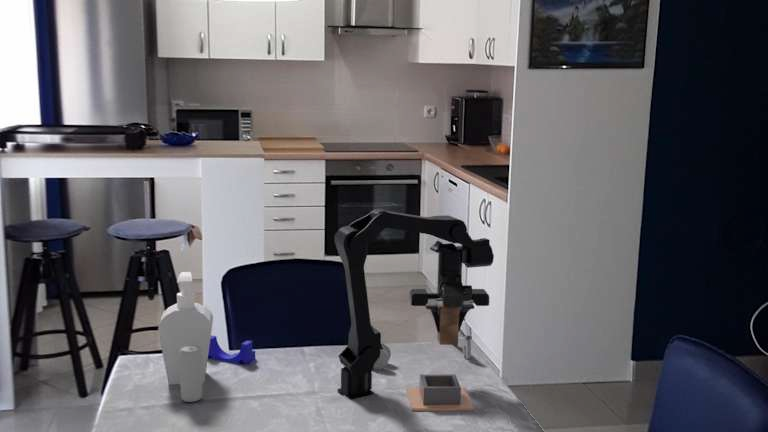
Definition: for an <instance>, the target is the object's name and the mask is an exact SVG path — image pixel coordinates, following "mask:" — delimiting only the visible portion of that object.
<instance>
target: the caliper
mask: <svg viewBox="0 0 768 432" xmlns="http://www.w3.org/2000/svg"><path fill="white" fill-rule="evenodd" d="M470 337H471V336H470V335H468V334H466V335H464V336H458V345H457V347H458V348H462V353H463V359H466V360H470V359H471V354H472V353H471V351H472V344H471V341H472V340H470V339H471V338H470Z"/></svg>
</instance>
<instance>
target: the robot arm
mask: <svg viewBox="0 0 768 432" xmlns="http://www.w3.org/2000/svg"><path fill="white" fill-rule="evenodd" d="M467 228H468V227H467V224H466V223H465V221H464V220H462V219H459V218H456V217H454V216H452V215H451V216H450V215H432V216H420V215H414V214H408V213H401V212H396V211H389V210H385V209H384V210H383V209H382V208H375V209H373V210H371V211H370V212H369V213H367V214H366V215H365V216H362V217H360V218H358V219H356V220H355V221H353V222H351V223H350V224H349V225H344V226H342V227H340V228H339V229H338V230H337V231H336V233H335V234H334V244H335V247H336V250H337V254H338V256H339V258H340V260H341V262H342V264H343V267H344V273H345V281H346V290H347V297H348V305H349V306H348V307H349V315H350V322H351V323H350V325H351V326H350V328H349V332H348V341H347V346H346V347H345V348H344V349H343V350H342V351H341V352H340V353H339V355H338V359H339V362H340V364H342V366H343V367H341V368H340V388H337V391H336V392H338V393H339V394H341V395H342V396H344V397H346V398H347V399H349V400H351V401H352V400H357V399H361V398H364V397H368V396H369V397H370V396H373V395H374V394H375V391H373V390H372V389H373V388H372V385H373V384H372V383H373V373H372V372H373V369H374V368H373V367H374V364H375V362H376V361H377V360H378V358H379V357H380V352H381V351H380V349H383V348H382V346H381V342H382V335H381V332H380V331H379V330H378V329H377V328H375V327H374V326H373V325H372V324H371V323H372V321H371V317H370V308H369V299H368V298H369V297H368V291H367V283H366V282H367V281H366V275H365V264H366V260H367V256H368V246H369V245H371V244H372V242H374V241H375V240H376V239H377V238H378V236H379V235H380V234H381V233H382V231H384V230H385V229H391V230H395V231H396V230H397V231H403V232H404V231H405V232H412V233H418V234H425V235H430V236H432V237H435V238H438V239H441V240H443V241H445V242H448V243H443V242H442V241H439V240H437V241H436V242H435V243H434V244H433V245H431V246H430V248H429V250H430V251H432V252H434V253H437V255H438V256H437V257H438V258H437V261H438V263H437V287H436V288H437V290H436V291H437V292H428V291H427V288H411V289H410V291H409V296H408V297H409V302H410V305H411V306H413V307H425V309H426V310H430V312H431V314H432V315H431V316H432V317H433V322H434V326H435V328H436V331H437V333H438V332H439V327H440V325H439V314H438V304H437V303H438V302H441V303H443V306H445V307H459V329H458V333H459V332H460V330H461V328H462V325H463V322H464V321H465V320H464V319H465V317H466V315H467V313H469V311H470V310H473V309H475V306H476V307H488V306H490V295H489V293H488V292H487V291H486V290H485V289H484V288H473V287H472V285H470V284H469V285H468V284H467V285H466V284H465V285H463V282H462V281H463V280H462V279H463V276H462V275H463V268H462V267H463V264H464V265H465V267H466V268H469V269H470V268H483V267H491V266H492V265H493V263H494V260H495V259H494V257H495V256H494V255H495V254H494V253H493V248H492V246H491V244H490V241H491V240H490V239H489V238H487V237H484V238H478V239H473V238H472V237H471V235H470V234H469V233H468V229H467ZM455 244H458V245H455Z"/></svg>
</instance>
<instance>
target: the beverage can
mask: <svg viewBox="0 0 768 432" xmlns="http://www.w3.org/2000/svg"><path fill="white" fill-rule="evenodd" d="M180 383H181V384H180V399H181V400H182V401H183V402H185V403H194V402H198V401H200V400H201V399H202V397H203V383H202V351H201V347H200V346H197V345H186V346H183V347H181V348H180Z"/></svg>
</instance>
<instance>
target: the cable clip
mask: <svg viewBox="0 0 768 432" xmlns="http://www.w3.org/2000/svg"><path fill="white" fill-rule="evenodd" d="M217 339H218V337H217V335H212V334H211V338H210V346H209V353H208V359H209V358H210V357H211V358H212V360H214V361H220V362H226V363H230V364H232V363H233V364H237V365H241V364H242V363H243V365H244V366H248V365H249V364H250V363H252V362H254V361H255V360H256V350H254V349H253V340H245V341H243V342H242V343H241V345H240V351H238V353H237V352H234V353H232V354H230V353H227V352H225V351H224V350H223V349H222V348H221V346H220V344H219V343H218V340H217Z"/></svg>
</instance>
